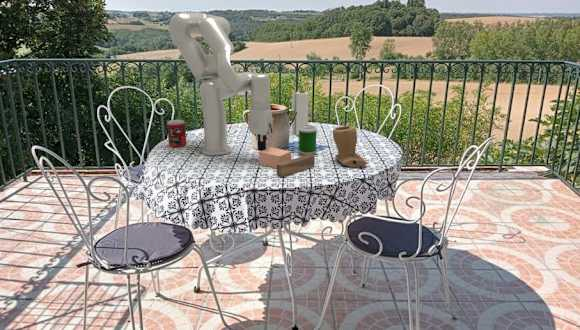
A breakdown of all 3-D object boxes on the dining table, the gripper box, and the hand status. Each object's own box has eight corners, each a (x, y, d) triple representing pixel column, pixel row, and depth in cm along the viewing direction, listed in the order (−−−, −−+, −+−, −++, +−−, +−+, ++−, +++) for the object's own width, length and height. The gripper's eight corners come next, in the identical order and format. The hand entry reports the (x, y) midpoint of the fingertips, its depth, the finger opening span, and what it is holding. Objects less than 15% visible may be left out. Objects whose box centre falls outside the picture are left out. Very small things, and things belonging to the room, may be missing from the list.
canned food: (165, 146, 202) (163, 122, 198) (176, 142, 209) (174, 119, 205) (179, 148, 199) (177, 124, 195) (189, 143, 206) (188, 120, 202)
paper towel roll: (310, 134, 224) (310, 91, 217) (303, 136, 219) (304, 93, 212) (297, 132, 227) (298, 90, 221) (291, 134, 223) (291, 92, 216)
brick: (259, 165, 178) (259, 151, 176) (271, 160, 184) (270, 147, 182) (279, 169, 173) (279, 156, 171) (291, 164, 179) (291, 151, 177)
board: (276, 175, 166) (276, 164, 164) (308, 164, 178) (308, 154, 177) (282, 177, 164) (282, 166, 162) (314, 166, 176) (314, 155, 175)
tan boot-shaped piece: (328, 157, 187) (330, 122, 182) (356, 156, 189) (358, 122, 184) (338, 169, 173) (339, 132, 168) (367, 168, 174) (369, 131, 170)
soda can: (314, 156, 188) (315, 129, 184) (297, 155, 190) (297, 128, 186) (317, 151, 195) (317, 125, 191) (300, 150, 197) (300, 124, 193)
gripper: (241, 104, 179) (243, 148, 184) (266, 109, 169) (267, 155, 175) (255, 102, 184) (256, 144, 190) (280, 106, 174) (281, 151, 180)
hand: (261, 149), depth 182 cm, fingers closed
